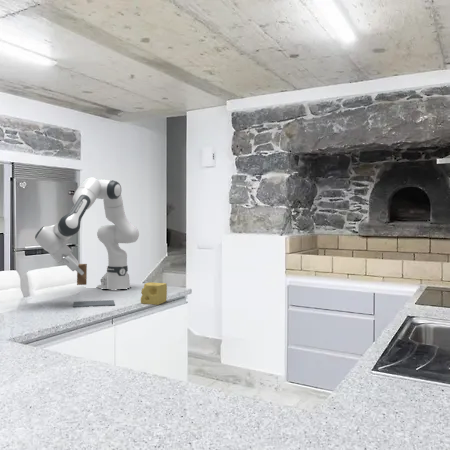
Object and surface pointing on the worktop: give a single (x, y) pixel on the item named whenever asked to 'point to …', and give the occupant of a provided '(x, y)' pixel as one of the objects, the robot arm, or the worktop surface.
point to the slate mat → (93, 303)
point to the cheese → (154, 293)
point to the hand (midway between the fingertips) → (83, 273)
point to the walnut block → (82, 278)
